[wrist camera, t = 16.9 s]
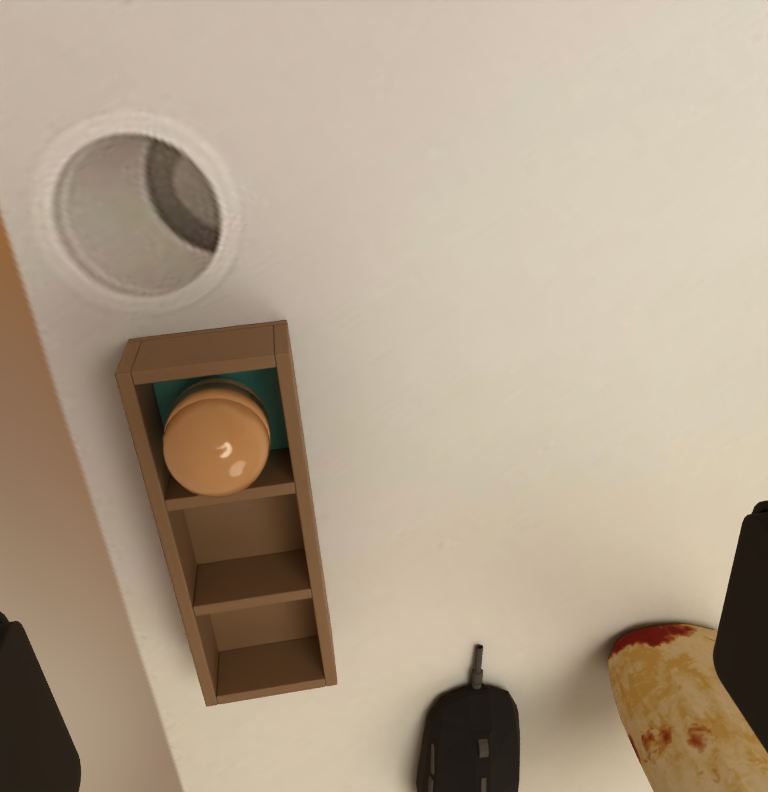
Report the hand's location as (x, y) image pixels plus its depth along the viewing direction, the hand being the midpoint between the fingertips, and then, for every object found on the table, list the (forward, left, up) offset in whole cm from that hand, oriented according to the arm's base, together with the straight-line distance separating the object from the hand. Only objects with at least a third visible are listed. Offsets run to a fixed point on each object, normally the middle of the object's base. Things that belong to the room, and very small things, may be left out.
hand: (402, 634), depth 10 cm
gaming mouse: (+33, -6, -23) cm, 41 cm away
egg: (+6, -7, -22) cm, 24 cm away
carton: (+11, -9, -23) cm, 27 cm away
